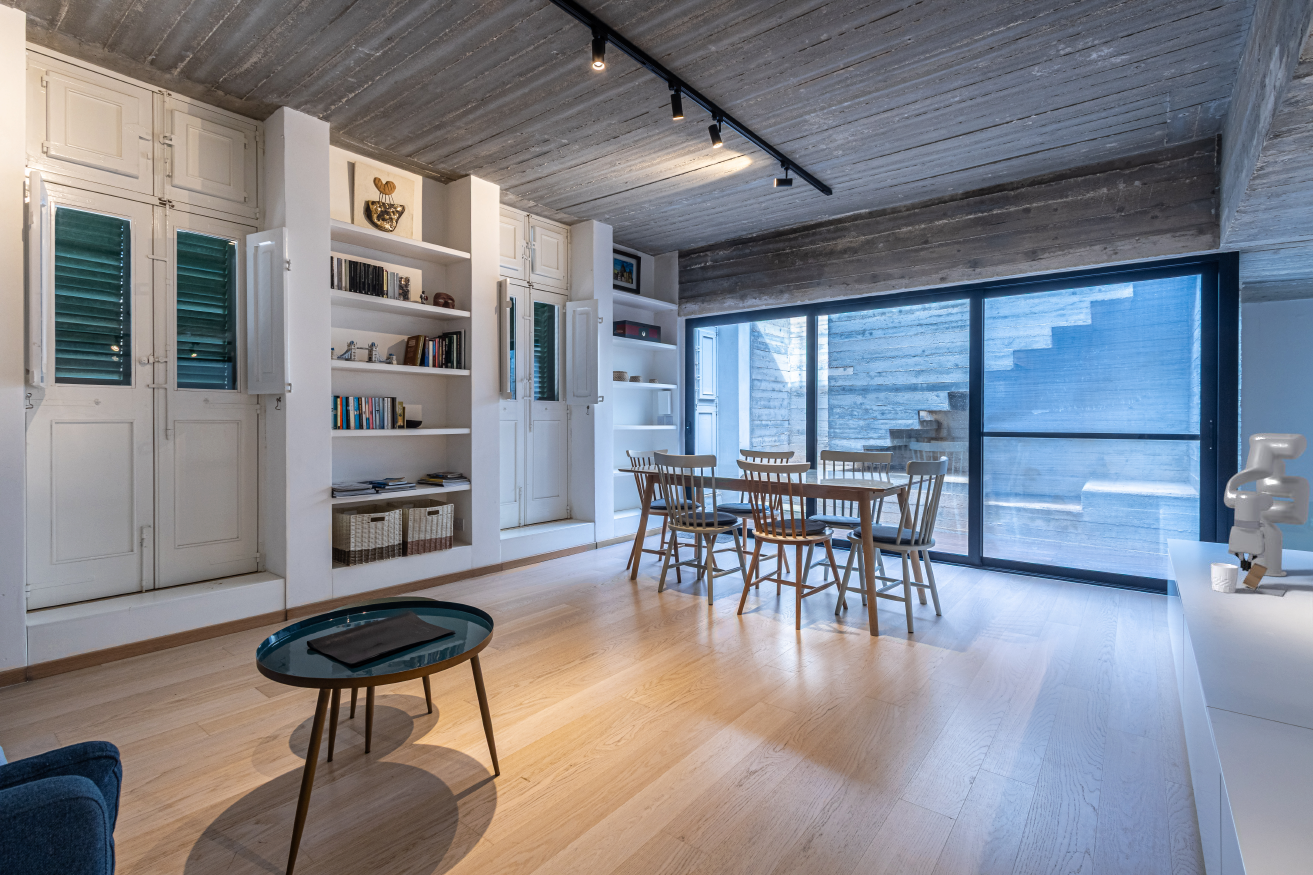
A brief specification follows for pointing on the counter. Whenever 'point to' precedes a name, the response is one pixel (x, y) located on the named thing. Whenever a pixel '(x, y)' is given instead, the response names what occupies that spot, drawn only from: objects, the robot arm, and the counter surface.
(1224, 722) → the counter surface
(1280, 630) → the counter surface
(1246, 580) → the block
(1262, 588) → the mat
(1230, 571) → the white cup
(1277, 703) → the counter surface
